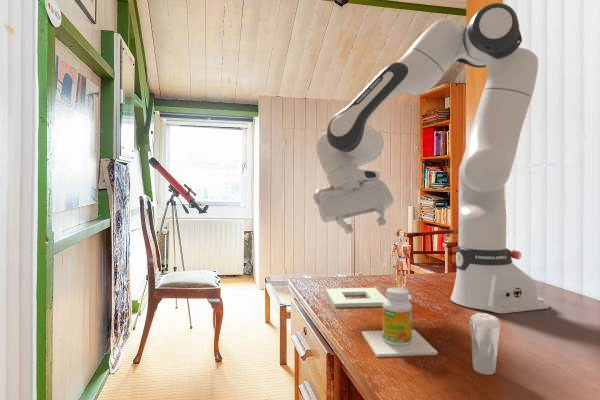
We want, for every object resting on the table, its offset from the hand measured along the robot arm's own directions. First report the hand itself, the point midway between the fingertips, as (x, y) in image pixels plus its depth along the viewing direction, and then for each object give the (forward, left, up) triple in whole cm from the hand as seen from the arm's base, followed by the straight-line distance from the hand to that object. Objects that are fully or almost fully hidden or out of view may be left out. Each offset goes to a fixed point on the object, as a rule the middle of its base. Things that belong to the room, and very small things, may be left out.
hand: (366, 228), depth 102 cm
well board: (+2, -3, -19) cm, 19 cm away
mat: (+1, +27, -19) cm, 33 cm away
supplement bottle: (+1, +27, -19) cm, 33 cm away
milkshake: (-9, +39, -19) cm, 44 cm away
